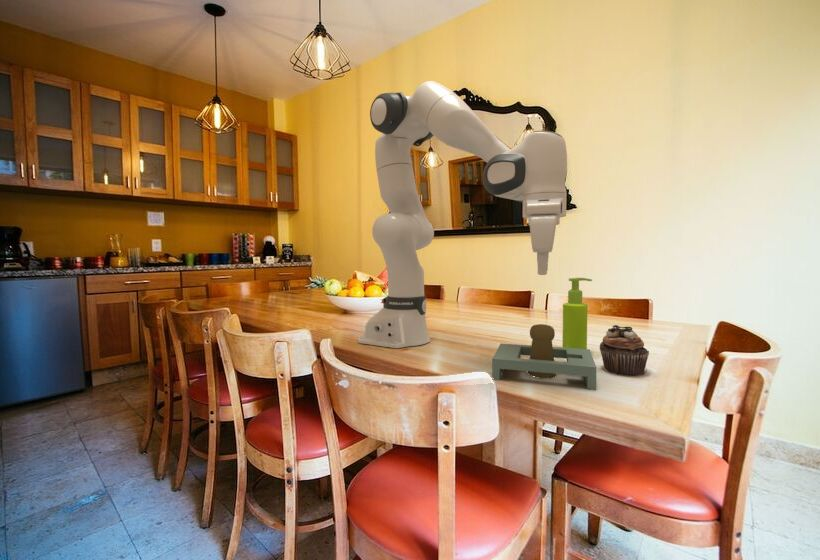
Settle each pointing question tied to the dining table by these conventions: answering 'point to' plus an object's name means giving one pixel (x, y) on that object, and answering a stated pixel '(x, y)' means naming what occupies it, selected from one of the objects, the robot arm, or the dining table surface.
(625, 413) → the dining table surface
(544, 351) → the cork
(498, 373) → the grey-green slotted stand
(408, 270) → the robot arm
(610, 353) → the cupcake
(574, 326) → the soap dispenser
